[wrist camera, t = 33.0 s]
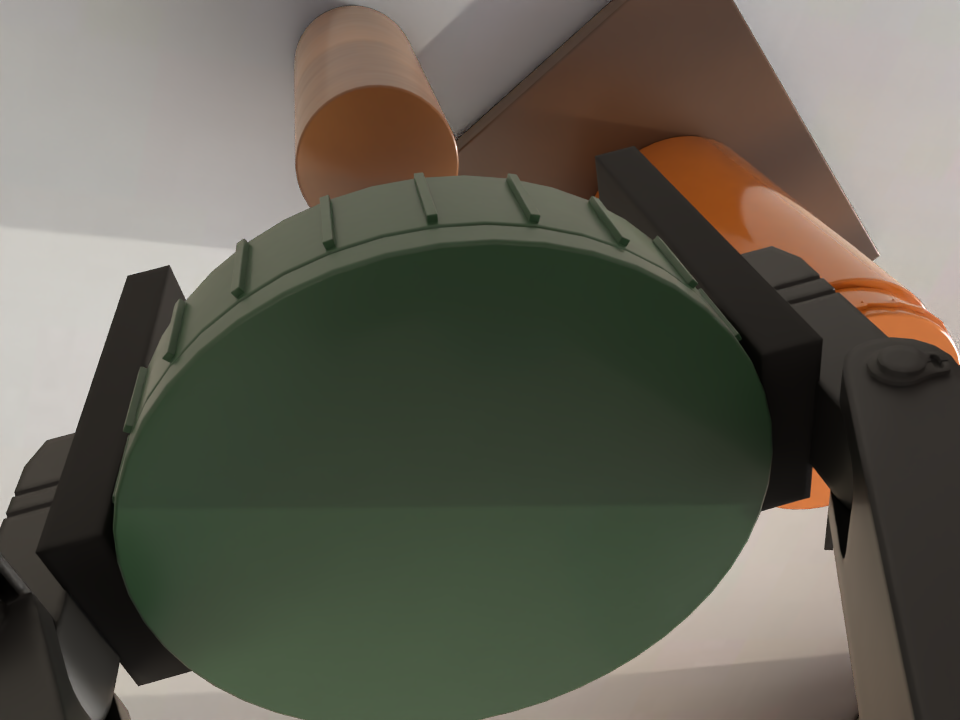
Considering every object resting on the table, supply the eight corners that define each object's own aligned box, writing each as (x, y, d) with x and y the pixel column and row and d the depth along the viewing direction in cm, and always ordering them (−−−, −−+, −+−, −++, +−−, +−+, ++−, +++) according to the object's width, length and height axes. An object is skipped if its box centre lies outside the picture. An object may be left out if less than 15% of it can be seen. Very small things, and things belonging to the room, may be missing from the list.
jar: (788, 162, 31) (1022, 335, 21) (704, 316, 35) (872, 527, 25) (629, 112, 29) (809, 280, 19) (556, 282, 32) (675, 500, 22)
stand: (429, 27, 27) (480, 111, 20) (396, 141, 29) (431, 256, 22) (309, -12, 26) (316, 63, 18) (282, 110, 28) (279, 222, 20)
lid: (99, 616, 12) (74, 723, 11) (186, 77, 8) (165, 136, 7) (584, 649, 15) (615, 739, 13) (826, 259, 11) (906, 327, 9)
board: (867, 245, 35) (881, 255, 35) (644, 409, 38) (652, 422, 38) (685, -67, 27) (697, -63, 26) (416, 175, 30) (419, 185, 29)
